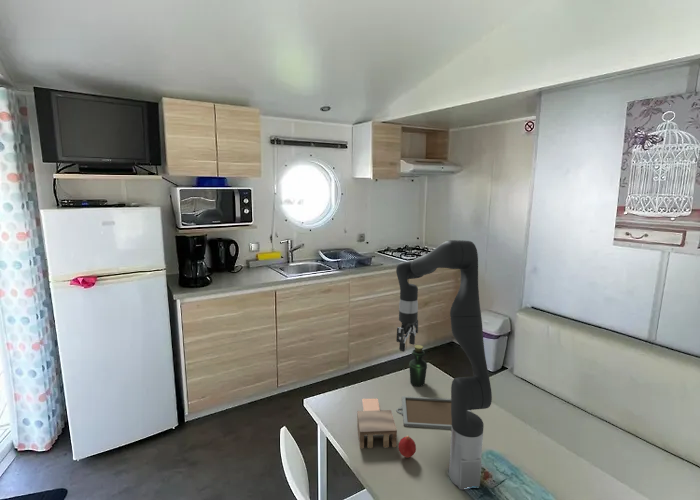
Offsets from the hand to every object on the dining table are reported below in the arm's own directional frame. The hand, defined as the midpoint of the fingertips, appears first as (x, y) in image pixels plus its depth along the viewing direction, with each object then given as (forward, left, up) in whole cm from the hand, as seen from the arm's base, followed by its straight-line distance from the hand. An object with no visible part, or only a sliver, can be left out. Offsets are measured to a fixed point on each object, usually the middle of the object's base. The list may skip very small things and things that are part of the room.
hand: (407, 347), depth 152 cm
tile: (-6, +15, -25) cm, 30 cm away
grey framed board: (-8, -10, -25) cm, 28 cm away
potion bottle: (+15, -9, -25) cm, 30 cm away
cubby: (-21, +15, -24) cm, 36 cm away
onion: (-32, +6, -25) cm, 41 cm away
